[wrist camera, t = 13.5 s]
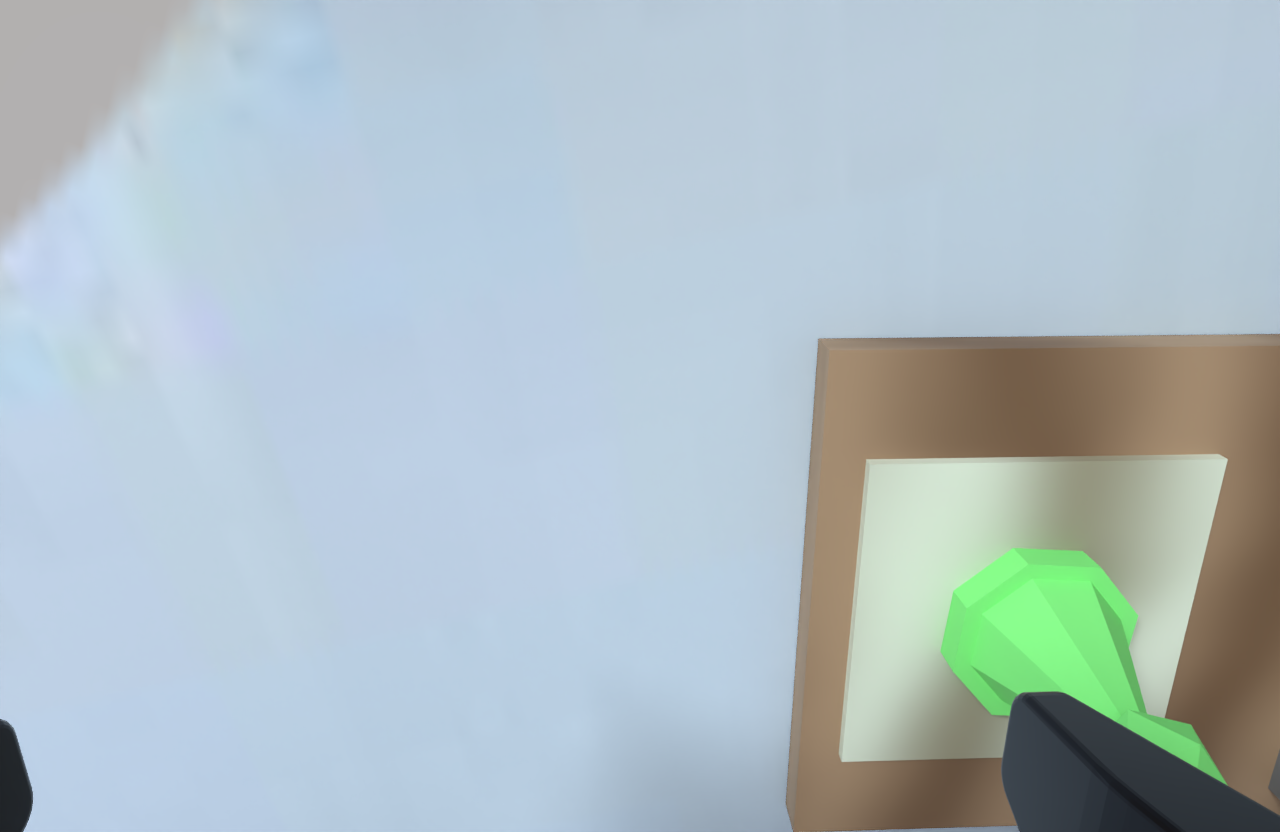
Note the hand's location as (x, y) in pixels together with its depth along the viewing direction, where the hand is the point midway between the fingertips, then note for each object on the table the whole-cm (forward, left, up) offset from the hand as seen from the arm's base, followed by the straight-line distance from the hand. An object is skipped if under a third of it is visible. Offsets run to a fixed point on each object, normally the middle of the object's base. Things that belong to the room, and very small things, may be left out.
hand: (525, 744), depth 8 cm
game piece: (+4, -12, -11) cm, 16 cm away
